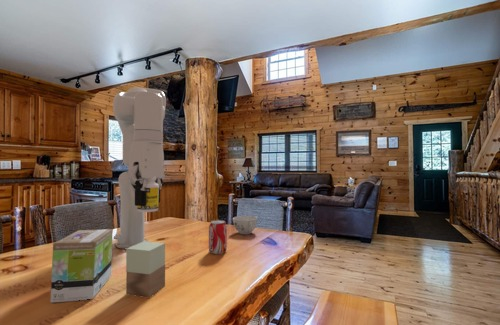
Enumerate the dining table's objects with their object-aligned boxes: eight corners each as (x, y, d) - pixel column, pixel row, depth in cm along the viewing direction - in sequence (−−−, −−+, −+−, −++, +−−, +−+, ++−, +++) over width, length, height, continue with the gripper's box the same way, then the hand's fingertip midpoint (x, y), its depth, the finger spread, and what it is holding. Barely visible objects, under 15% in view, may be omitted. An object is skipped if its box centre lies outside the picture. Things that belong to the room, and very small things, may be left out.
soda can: (223, 255, 100) (223, 223, 100) (205, 254, 102) (206, 222, 102) (228, 250, 107) (229, 220, 107) (212, 248, 108) (212, 219, 109)
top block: (126, 271, 70) (126, 248, 70) (143, 262, 76) (143, 241, 77) (149, 274, 68) (149, 250, 68) (164, 264, 75) (165, 243, 75)
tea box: (94, 300, 67) (95, 240, 67) (49, 304, 65) (50, 243, 65) (112, 276, 81) (113, 227, 82) (75, 278, 79) (76, 229, 80)
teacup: (229, 231, 138) (229, 216, 138) (251, 229, 143) (251, 214, 143) (239, 238, 124) (239, 221, 124) (263, 236, 129) (263, 219, 129)
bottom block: (126, 294, 70) (126, 271, 70) (143, 283, 76) (143, 262, 76) (149, 298, 68) (149, 274, 68) (164, 286, 75) (165, 264, 75)
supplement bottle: (138, 213, 69) (138, 175, 69) (136, 210, 74) (136, 174, 74) (159, 211, 72) (160, 175, 72) (156, 208, 76) (157, 174, 77)
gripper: (154, 141, 82) (154, 199, 82) (113, 134, 66) (113, 208, 65) (176, 140, 81) (176, 200, 80) (140, 134, 64) (139, 209, 64)
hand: (147, 203), depth 73 cm, fingers closed on supplement bottle, 5 cm apart
